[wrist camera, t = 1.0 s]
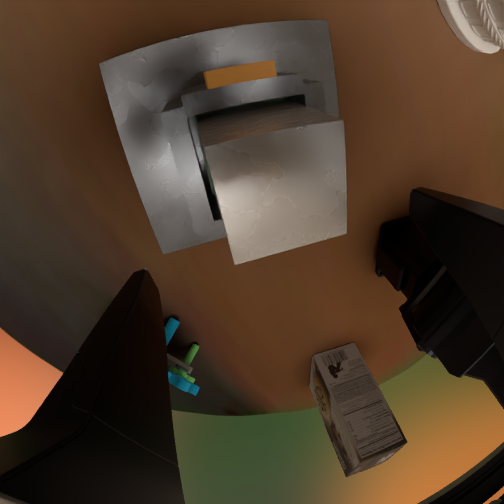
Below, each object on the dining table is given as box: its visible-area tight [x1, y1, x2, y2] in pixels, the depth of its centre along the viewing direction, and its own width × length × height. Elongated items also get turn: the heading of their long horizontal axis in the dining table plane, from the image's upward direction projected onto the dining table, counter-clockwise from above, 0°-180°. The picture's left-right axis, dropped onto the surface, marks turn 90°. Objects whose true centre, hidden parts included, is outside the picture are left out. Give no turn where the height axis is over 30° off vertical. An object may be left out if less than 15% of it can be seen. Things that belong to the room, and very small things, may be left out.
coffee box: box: [309, 342, 407, 477], centre depth 33 cm, size 9×6×16 cm
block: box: [193, 97, 347, 265], centre depth 14 cm, size 5×5×9 cm
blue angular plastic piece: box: [165, 317, 200, 395], centre depth 26 cm, size 11×6×10 cm
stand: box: [99, 20, 339, 255], centre depth 16 cm, size 14×14×7 cm
